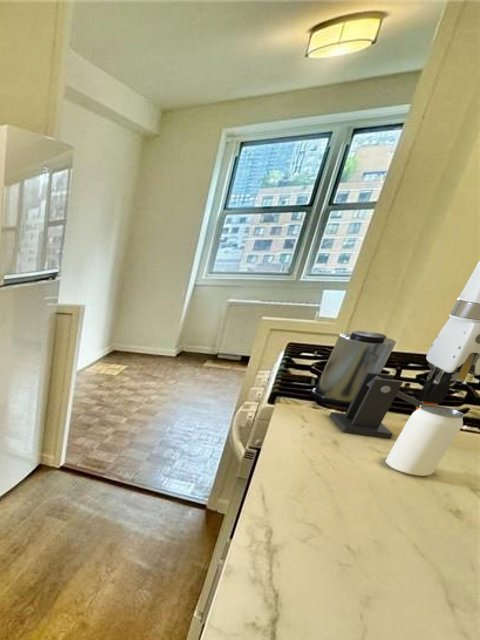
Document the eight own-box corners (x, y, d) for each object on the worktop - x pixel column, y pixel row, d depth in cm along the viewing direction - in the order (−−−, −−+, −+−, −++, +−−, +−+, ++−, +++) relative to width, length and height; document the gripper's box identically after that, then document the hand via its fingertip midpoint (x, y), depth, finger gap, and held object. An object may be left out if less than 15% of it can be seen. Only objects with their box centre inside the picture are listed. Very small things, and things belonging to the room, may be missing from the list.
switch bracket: (373, 422, 110) (399, 372, 104) (390, 438, 102) (419, 386, 97) (329, 416, 112) (352, 368, 107) (343, 432, 105) (368, 381, 100)
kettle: (355, 393, 125) (386, 329, 117) (377, 413, 114) (413, 344, 106) (302, 387, 129) (329, 325, 121) (319, 406, 118) (350, 339, 110)
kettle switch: (423, 415, 103) (438, 403, 101) (431, 421, 101) (447, 409, 99) (363, 385, 105) (377, 373, 103) (369, 390, 102) (383, 377, 101)
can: (387, 470, 91) (420, 412, 85) (381, 456, 96) (412, 400, 90) (435, 480, 88) (473, 421, 82) (426, 466, 92) (462, 408, 87)
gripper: (535, 322, 84) (473, 417, 93) (484, 306, 96) (433, 391, 105) (477, 318, 87) (422, 411, 96) (434, 302, 99) (389, 386, 108)
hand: (428, 400), depth 101 cm, fingers closed
